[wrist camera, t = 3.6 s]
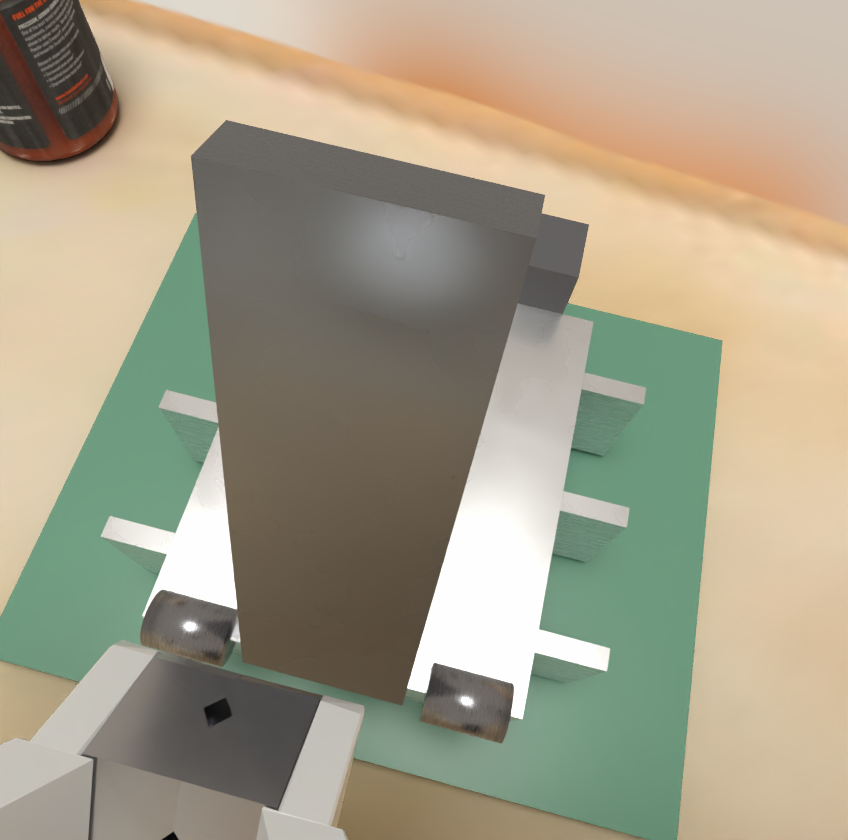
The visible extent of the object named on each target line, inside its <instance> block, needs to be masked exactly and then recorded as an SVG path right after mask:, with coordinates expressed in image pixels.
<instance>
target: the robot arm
mask: <svg viewBox="0 0 848 840" xmlns="http://www.w3.org/2000/svg"><path fill="white" fill-rule="evenodd" d="M364 712H365V707H364V705H360V704H356V703H352V702H348V701H344V700H340V699H336V698H333V697H329V696H325V695H324V696H323V695H319V694H315V693H311V692H308V691H304V690H300V689H296V688H292V687H289V686H285V685H281V684H277V683H273V682H270V681H266V680H262V679H258V678H254V677H251V676H247V675H242V674H238V673H235V672H232V671H228V670H225V669H222V668H218V667H215V666H212V665H208V664H205V663H202V662H198V661H195V660H192V659H188V658H185V657H182V656H178V655H175V654H172V653H168V652H165V651H162V652H161V651H157V650H154V649H151V648H148V647H144V646H141V645H138V644H135V643H132V642H128V641H125V640H121V641H119V642H117V643H116V644H114V645H112V646H111V647H109V648H108V650H107V651H106V652H105V653H104V654H103V655H102V657H101V658H100V659H99V660H98V661H97V662H96V664H95V665H94V666H93V667H92V668H91V670H90V671H89V672H88V673H87V674H86V675H85V677H84V678H83V679H82V680H81V681H80V682H79V684H78V685H77V686H76V687H75V688H74V689H73V691H72V692H71V693H70V694H69V695H68V696H67V698H66V699H65V700H64V701H63V702H62V703H61V705H60V706H59V707H58V708H57V709H56V710H55V712H54V713H53V714H52V715H51V716H50V717H49V719H48V720H47V721H46V722H45V723H44V724H43V726H42V727H41V728H40V729H39V730H38V731H37V733H36V734H35V735H34V736H33V737H32V738H31V740H30V741H28V740H24V739H20V738H14V739H12V740H9V741H7V742H5V743H3V744H0V840H348V839H347V836H346V833H345V830H342V829H339V828H337V825H338V821H339V817H340V813H341V809H342V805H343V800H344V796H345V792H346V788H347V784H348V780H349V776H350V772H351V767H352V763H353V759H354V755H355V751H356V747H357V743H358V738H359V734H360V730H361V726H362V722H363V718H364Z"/></svg>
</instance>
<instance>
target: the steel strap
mask: <svg viewBox="0 0 848 840" xmlns="http://www.w3.org/2000/svg"><path fill="white" fill-rule="evenodd" d="M191 160H192V170H193V180H194V190H195V200H196V209H197V219H198V229H199V239H200V249H201V259H202V268H203V278H204V288H205V298H206V308H207V318H208V327H209V337H210V347H211V357H212V367H213V377H214V386H215V396H216V406H217V416H218V426H219V436H220V445H221V455H222V465H223V475H224V485H225V495H226V504H227V514H228V524H229V534H230V544H231V554H232V563H233V573H234V583H235V593H236V603H237V613H238V622H239V632H240V642H241V652H242V662H244V663H247V664H251V665H255V666H258V667H262V668H266V669H269V670H273V671H277V672H280V673H284V674H288V675H291V676H295V677H299V678H302V679H306V680H310V681H313V682H317V683H321V684H324V685H328V686H332V687H335V688H339V689H343V690H346V691H350V692H354V693H357V694H361V695H365V696H369V697H372V698H376V699H380V700H383V701H387V702H391V703H394V704H398V705H403V702H404V698H405V695H406V691H407V688H408V684H409V681H410V677H411V674H412V670H413V667H414V663H415V660H416V656H417V653H418V649H419V646H420V642H421V639H422V635H423V632H424V628H425V625H426V621H427V618H428V614H429V611H430V607H431V604H432V600H433V597H434V594H435V590H436V587H437V583H438V580H439V576H440V573H441V569H442V566H443V562H444V559H445V555H446V552H447V548H448V545H449V541H450V538H451V534H452V531H453V527H454V524H455V520H456V517H457V513H458V510H459V506H460V503H461V499H462V496H463V493H464V489H465V486H466V482H467V479H468V475H469V472H470V468H471V465H472V461H473V458H474V454H475V451H476V447H477V444H478V440H479V437H480V433H481V430H482V426H483V423H484V419H485V416H486V412H487V409H488V405H489V402H490V398H491V395H492V391H493V388H494V385H495V381H496V378H497V374H498V371H499V367H500V364H501V360H502V357H503V353H504V350H505V346H506V343H507V339H508V336H509V332H510V329H511V325H512V322H513V318H514V315H515V311H516V308H517V304H518V301H519V297H520V294H521V290H522V287H523V283H524V280H525V277H526V273H527V270H528V266H529V263H530V259H531V256H532V252H533V249H534V245H535V242H536V238H537V233H538V228H539V223H540V218H541V213H542V208H543V203H544V198H545V195H543V194H538V193H534V192H530V191H526V190H521V189H517V188H513V187H509V186H504V185H500V184H496V183H492V182H487V181H483V180H479V179H475V178H470V177H466V176H462V175H457V174H453V173H449V172H445V171H440V170H436V169H432V168H428V167H423V166H419V165H415V164H411V163H406V162H402V161H398V160H394V159H389V158H385V157H381V156H377V155H372V154H368V153H364V152H359V151H355V150H351V149H347V148H342V147H338V146H334V145H330V144H325V143H321V142H317V141H313V140H308V139H304V138H300V137H296V136H291V135H287V134H283V133H279V132H274V131H270V130H266V129H262V128H257V127H253V126H249V125H244V124H240V123H236V122H232V121H227V120H226V121H225V122H224V123H223V124H222V125H221V126H220V127H219V128H218V129H217V130H216V131H215V132H214V133H213V134H212V135H211V136H210V137H209V138H208V139H207V140H206V141H205V142H204V143H203V144H202V145H201V146H200V147H199V148H198V149H197V151H196V152H195V153H194V154H193V155H192V156H191Z"/></svg>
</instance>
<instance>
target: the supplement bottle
mask: <svg viewBox="0 0 848 840" xmlns="http://www.w3.org/2000/svg"><path fill="white" fill-rule="evenodd" d="M117 100H118V99H117V94H116V91H115V88H114V86H113V82H112V79H111V77H110V74H109V72H108V70H107V67H106V65H105V63H104V60H103V58H102V55H101V53H100V51H99V48H98V46H97V43H96V41H95V38H94V36H93V34H92V31H91V29H90V27H89V24H88V22H87V20H86V17H85V15H84V12H83V10H82V8H81V5H80V3H79V0H0V149H1V150H3V151H4V152H7V153H9V154H10V155H13V156H16V157H19V158H23V159H27V160H31V161H32V160H34V161H50V160H57V159H62V158H68V157H70V156H74V155H75V154H79V153H81V152H83V151H85V150H86V149H88V148H90V147H92V146H93V145H95V144H96V143H97V142H98V141H99V140H101V139H102V138H103V137H104V136H105V134H106V133H107V132H108V131H109V130H110V128H111V127H112V125H113V123H114V121H115V119H116V116H117V110H118V101H117Z"/></svg>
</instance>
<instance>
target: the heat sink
mask: <svg viewBox="0 0 848 840" xmlns="http://www.w3.org/2000/svg"><path fill="white" fill-rule="evenodd" d="M592 328H593V321H589V320H584V319H580V318H576V317H572V316H568V315H564V314H560V313H556V312H551V311H547V310H543V309H539V308H535V307H531V306H527V305H523V304H517V308H516V311H515V315H514V318H513V322H512V325H511V329H510V332H509V336H508V339H507V343H506V346H505V350H504V353H503V357H502V360H501V364H500V367H499V371H498V374H497V378H496V381H495V385H494V388H493V391H492V395H491V398H490V402H489V405H488V409H487V412H486V416H485V419H484V423H483V426H482V430H481V433H480V437H479V440H478V444H477V447H476V451H475V454H474V458H473V461H472V465H471V468H470V472H469V475H468V479H467V482H466V486H465V489H464V493H463V496H462V499H461V503H460V506H459V510H458V513H457V517H456V520H455V524H454V527H453V531H452V534H451V538H450V541H449V545H448V548H447V552H446V555H445V559H444V562H443V566H442V569H441V573H440V576H439V580H438V583H437V587H436V590H435V594H434V597H433V600H432V604H431V607H430V611H429V614H428V618H427V621H426V625H425V628H424V632H423V635H422V639H421V642H420V646H419V649H418V653H417V656H416V660H415V663H414V667H413V670H412V674H411V677H410V681H409V684H408V688H407V691H406V695H405V698H404V699H406V700H410V701H413V702H417V703H421V704H423V705H422V710H421V715H420V722H423V723H427V724H431V725H434V726H438V727H442V728H445V729H449V730H453V731H456V732H460V733H464V734H467V735H471V736H475V737H478V738H482V739H486V740H489V741H493V742H497V743H500V744H501V743H502V742H503V741H504V738H505V736H506V733H507V729H508V726H509V722H510V721H513V720H520V719H522V718H523V713H524V707H525V702H526V696H527V690H528V685H529V679H530V674H534V675H537V676H541V677H545V678H549V679H552V680H556V681H560V682H564V683H571V682H574V681H577V680H581V679H584V678H587V677H591V676H594V675H597V674H600V673H604V672H607V668H608V661H609V654H610V648H607V647H603V646H599V645H596V644H592V643H588V642H584V641H580V640H577V639H573V638H569V637H565V636H562V635H558V634H554V633H550V632H546V631H543V630H539V624H540V618H541V612H542V607H543V601H544V596H545V590H546V585H547V579H548V573H549V568H550V562H551V557H552V553H553V554H557V555H560V556H564V557H568V558H572V559H576V560H580V561H584V562H587V561H589V560H590V559H591V558H592V557H593V556H594V555H596V554H597V553H598V552H599V551H600V550H601V549H603V548H604V547H605V546H606V545H607V544H608V543H610V542H611V541H612V540H613V539H614V538H615V537H616V536H618V535H619V534H620V533H621V532H622V531H623V530H625V529H626V528H627V523H628V516H629V509H630V508H628V507H624V506H620V505H616V504H612V503H608V502H605V501H601V500H597V499H593V498H589V497H585V496H581V495H577V494H573V493H569V492H565V491H563V490H564V484H565V479H566V473H567V467H568V462H569V456H570V451H571V448H574V449H578V450H582V451H586V452H590V453H594V454H598V455H602V456H604V455H605V453H606V452H607V451H608V449H609V448H610V447H611V446H612V444H613V443H614V442H615V441H616V439H617V438H618V437H619V435H620V434H621V433H622V432H623V430H624V429H625V428H626V427H627V425H628V424H629V423H630V421H631V420H632V419H633V418H634V416H635V415H636V414H637V413H638V411H639V410H640V409H641V408H642V406H643V405H644V400H645V392H646V387H642V386H638V385H633V384H629V383H625V382H621V381H617V380H613V379H609V378H605V377H601V376H597V375H593V374H589V373H585V367H586V361H587V356H588V350H589V345H590V339H591V334H592ZM158 408H159V409H160V411H161V412H162V414H163V415H164V417H165V418H166V420H167V421H168V423H169V424H170V426H171V427H172V429H173V430H174V432H175V433H176V435H177V436H178V438H179V439H180V441H181V442H182V444H183V445H184V447H185V448H186V450H187V451H188V453H189V454H190V456H191V457H192V459H193V460H194V461H198V462H202V463H204V464H203V467H202V469H201V472H200V474H199V476H198V479H197V481H196V484H195V486H194V489H193V491H192V494H191V496H190V499H189V501H188V504H187V506H186V509H185V511H184V514H183V516H182V519H181V521H180V524H179V526H178V529H177V531H176V533H173V532H169V531H165V530H161V529H157V528H154V527H150V526H146V525H142V524H139V523H135V522H131V521H127V520H123V519H120V518H116V517H112V516H110V517H109V519H108V521H107V523H106V525H105V528H104V530H103V532H102V534H101V537H102V538H103V539H105V540H106V541H107V542H109V543H110V544H111V545H113V546H114V547H116V548H117V549H118V550H120V551H121V552H122V553H124V554H125V555H127V556H128V557H129V558H131V559H132V560H133V561H135V562H136V563H137V564H139V565H140V566H142V567H143V568H144V569H146V570H147V571H149V572H153V573H157V574H159V576H158V578H157V581H156V583H155V586H154V588H153V590H152V593H151V595H150V598H149V600H148V603H147V605H146V608H145V610H144V613H143V615H142V616H143V617H144V619H143V622H142V626H141V631H140V643H141V645H142V646H145V647H149V648H153V649H156V650H160V651H165V652H168V653H172V654H175V655H178V656H182V657H186V658H189V659H193V660H197V661H200V662H204V663H208V664H211V665H215V666H219V667H223V666H224V665H225V664H226V663H227V661H228V659H229V657H230V655H231V653H232V652H233V653H237V654H241V655H242V652H241V642H240V632H239V622H238V613H237V603H236V593H235V583H234V573H233V563H232V554H231V544H230V534H229V524H228V514H227V504H226V495H225V485H224V475H223V465H222V455H221V445H220V436H219V426H218V416H217V406H216V402H212V401H208V400H204V399H200V398H196V397H192V396H189V395H185V394H181V393H177V392H173V391H169V390H166V391H165V393H164V396H163V398H162V400H161V402H160V405H159V407H158Z"/></svg>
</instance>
